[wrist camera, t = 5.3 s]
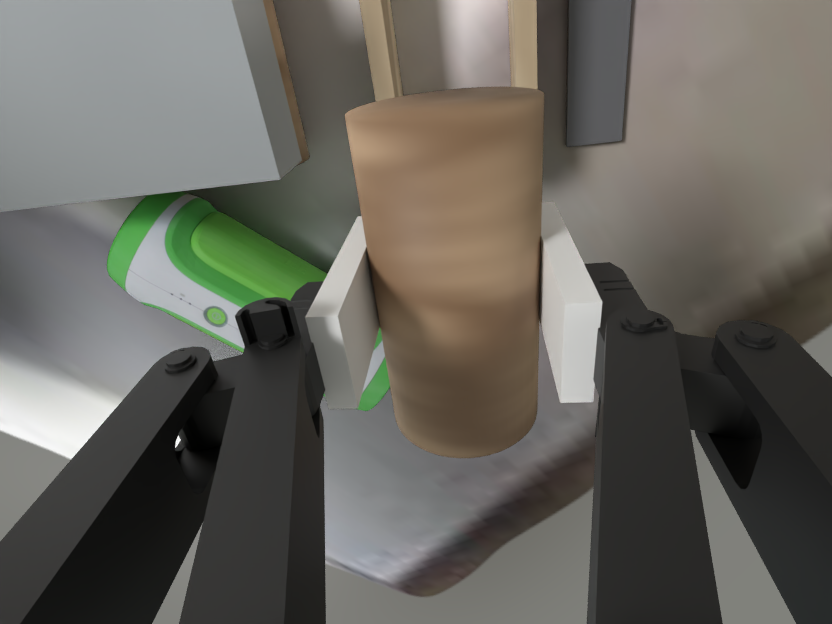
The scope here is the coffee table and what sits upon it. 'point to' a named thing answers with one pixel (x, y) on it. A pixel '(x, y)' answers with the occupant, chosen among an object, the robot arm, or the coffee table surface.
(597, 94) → the stop strip
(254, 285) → the speaker
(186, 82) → the slab
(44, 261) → the coffee table surface
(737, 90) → the coffee table surface
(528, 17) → the open rectangular frame
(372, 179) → the roller
